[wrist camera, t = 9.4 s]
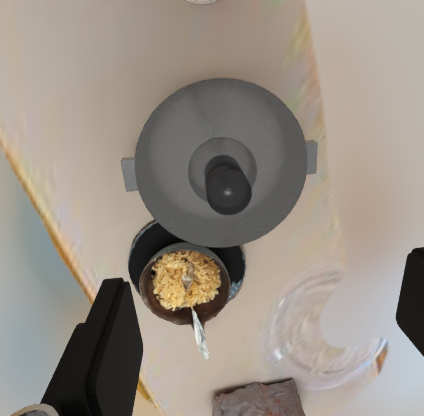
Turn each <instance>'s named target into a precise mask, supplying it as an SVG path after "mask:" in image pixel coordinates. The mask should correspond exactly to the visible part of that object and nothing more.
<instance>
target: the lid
mask: <svg viewBox="0 0 424 416" xmlns="http://www.w3.org/2000/svg"><path fill="white" fill-rule="evenodd" d="M307 165H308V160H307V148H306V142H305V139H304V135H303V132H302V130H301V128H300V125H299V123H298V121H297V120H296V118H295V117H294V115H293V113H292V112H291V111H290V109H289V108H288V107H287V106H286V105H285V104H284V103H283V102H282V101H281V100H280V99H279V98H278V97H276V96H275V95H274V94H272V93H271V92H269V91H268V90H266V89H264V88H262V87H260V86H258V85H255V84H253V83H250V82H246V81H243V80H238V79H230V78H216V79H209V80H203V81H200V82H196V83H193V84H190V85H188V86H186V87H184V88H182V89H180V90H178V91H177V92H175V93H174V94H172V95H171V96H169V97H168V98H167V99H166V100H164V101H163V102H162V103H161V104H160V105H159V106H158V107H157V108H156V110H155V111H154V112H153V113H152V114H151V116H150V117H149V119H148V120H147V122H146V124H145V126H144V128H143V130H142V132H141V134H140V137H139V140H138V143H137V147H136V153H135V177H136V182H137V186H138V190H139V193H140V195H141V198H142V200H143V202H144V204H145V206H146V208H147V209H148V211H149V212H150V213H151V215H152V216H153V217H154V219H155V220H156V221H157V222H158V223H159V224H160V225H161V226H162V227H164V228H165V229H166V230H167V231H169V232H170V233H172V234H173V235H175V236H177V237H178V238H180V239H183V240H185V241H187V242H190V243H193V244H196V245H200V246H206V247H216V248H219V247H232V246H238V245H242V244H245V243H248V242H251V241H253V240H256V239H258V238H260V237H262V236H264V235H265V234H267V233H268V232H270V231H271V230H273V229H274V228H275V227H276V226H278V225H279V224H280V223H281V222H282V221H283V220H284V219H285V218H286V217H287V215H288V214H289V213H290V212H291V210H292V209H293V207H294V206H295V204H296V202H297V200H298V199H299V197H300V195H301V192H302V189H303V187H304V183H305V179H306V175H307Z"/></svg>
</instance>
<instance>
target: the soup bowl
mask: <svg viewBox="0 0 424 416" xmlns="http://www.w3.org/2000/svg"><path fill="white" fill-rule="evenodd" d="M128 267H129V268H128V269H129V274H130V278H131V280H132V283H133V284H134V286H135V289H136V290H137V292H138V293H139V295H140V296H141V298H142V300H143V301H144V304H145V305H146V306H147V308H149V309H150V310H151V311H152V313H154V314H156V315H157V316H158V317H160V318H162V319H164V320H167V321H170V322H172V323H174V324H178V325H191V326H192V327H193V330H194V332H195V337H196V340H197V345H198V348H199V352H200V354H201V356H202V358H203V359H204V360H205V361H206V360H207V359H208V358H209V352H208V349H207V344H206V338H205V332H204V325H205V322H206V321H209V320H211V319H212V318H213V317H216V315H217V314H218V313H219V312H220V311H221V310H222V309H223V308H224V306H225V305H226V304H227V303H228V302H229V301H230V300H232V299H233V298H234V297H235V296H236V295H237V293H238V292H239V290H240V288H241V287H242V284H243V281H244V277H245V274H246V264H245V255H244V252H243V249H242V247H241V245H238V246H232V247H219V248H216V247H206V246H200V245H196V244H193V243H190V242H187V241H185V240H183V239H180V238H178V237H177V236H175V235H173V234H172V233H170V232H169V231H167V230H166V229H165V228H164V227H162V226H161V225H160V224H159V223H158V222H157V221H156V220H155V221H153V222H152V223H149V224H148V225H147V226H146V227H145V228H143V229H142V230H141V231H140V233H139V234H138V235H137V236H136V238H135V239H134V240H133V243H132V246H131V250H130V254H129V259H128Z"/></svg>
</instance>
